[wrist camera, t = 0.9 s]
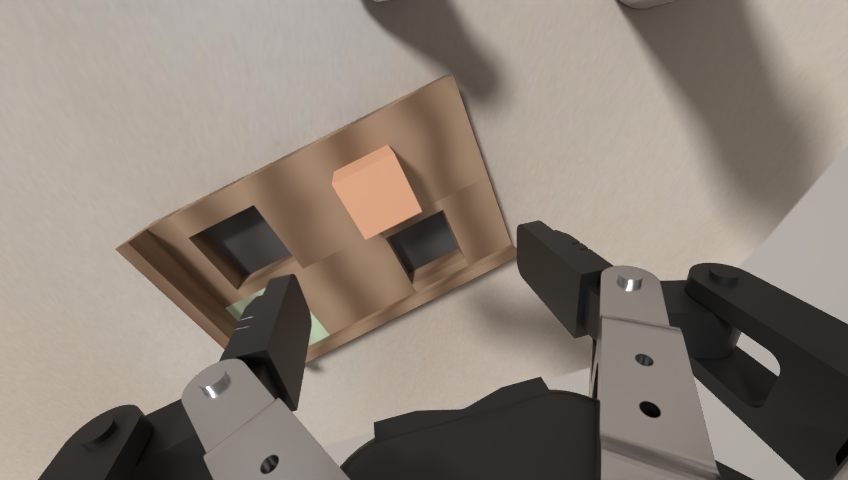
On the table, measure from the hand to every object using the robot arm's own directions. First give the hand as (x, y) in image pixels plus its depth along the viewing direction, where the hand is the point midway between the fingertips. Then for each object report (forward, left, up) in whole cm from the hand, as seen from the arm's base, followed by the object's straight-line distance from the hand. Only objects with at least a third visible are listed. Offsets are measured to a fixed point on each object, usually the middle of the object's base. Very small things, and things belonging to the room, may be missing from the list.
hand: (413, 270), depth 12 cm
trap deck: (+5, +5, -20) cm, 21 cm away
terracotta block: (+1, +1, -18) cm, 18 cm away
